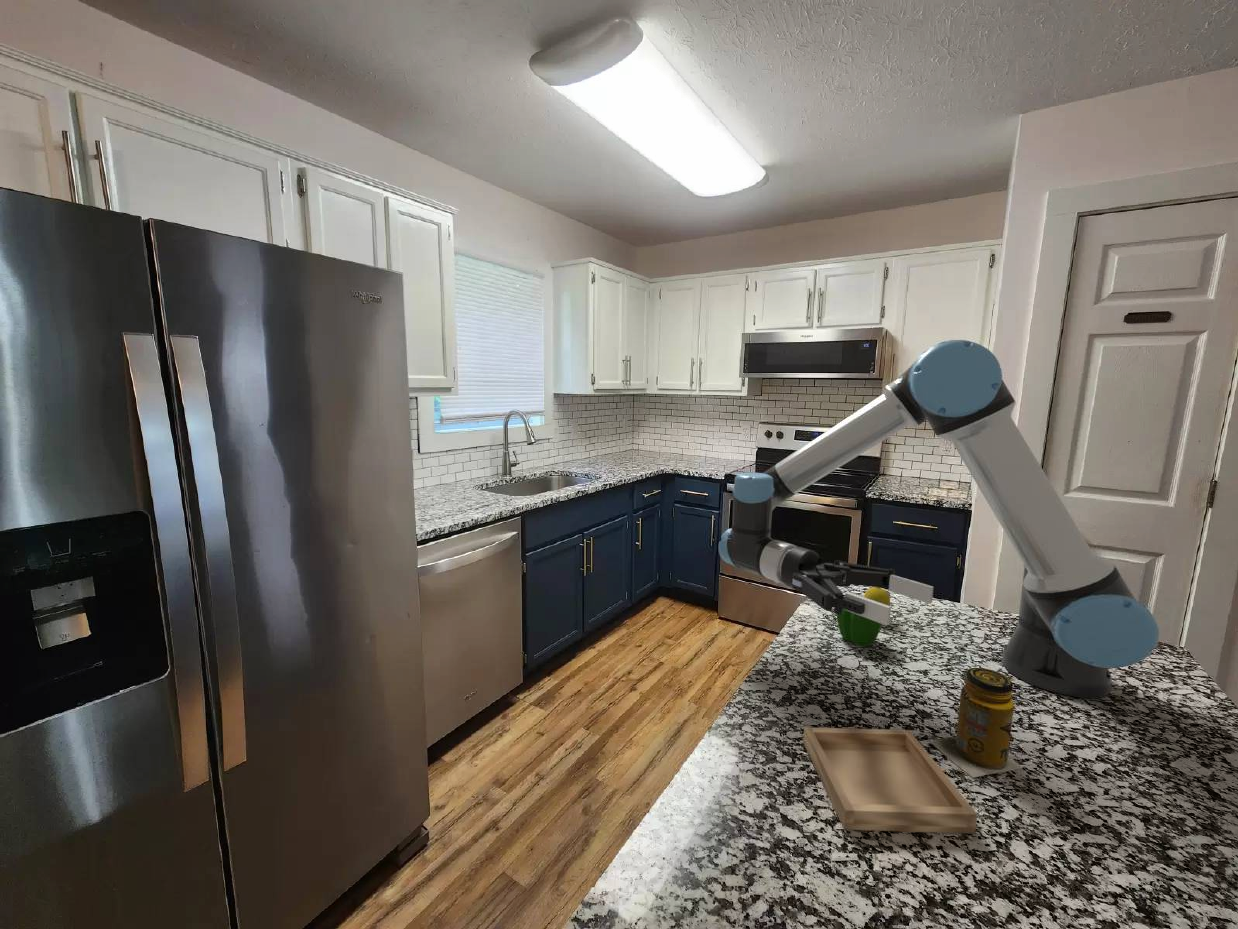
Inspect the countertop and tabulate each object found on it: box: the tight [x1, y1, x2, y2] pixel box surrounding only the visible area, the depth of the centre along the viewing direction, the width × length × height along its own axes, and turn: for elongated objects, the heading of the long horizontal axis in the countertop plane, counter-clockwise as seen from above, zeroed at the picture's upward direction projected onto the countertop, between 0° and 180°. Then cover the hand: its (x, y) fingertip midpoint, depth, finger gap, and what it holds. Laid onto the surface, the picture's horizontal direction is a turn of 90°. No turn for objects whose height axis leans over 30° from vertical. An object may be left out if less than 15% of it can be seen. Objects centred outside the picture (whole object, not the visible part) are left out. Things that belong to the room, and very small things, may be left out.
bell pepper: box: [836, 591, 882, 647], centre depth 106 cm, size 8×8×10 cm
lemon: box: [863, 586, 891, 606], centre depth 116 cm, size 6×6×8 cm
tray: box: [802, 726, 978, 835], centre depth 67 cm, size 15×15×2 cm
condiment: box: [929, 667, 1024, 779], centre depth 72 cm, size 7×8×12 cm
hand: (911, 605), depth 78 cm, fingers open, 13 cm apart
